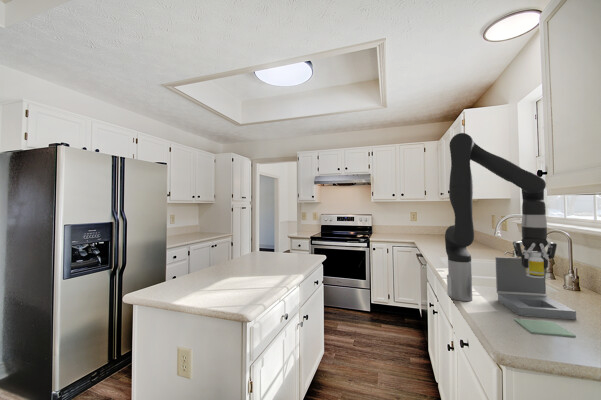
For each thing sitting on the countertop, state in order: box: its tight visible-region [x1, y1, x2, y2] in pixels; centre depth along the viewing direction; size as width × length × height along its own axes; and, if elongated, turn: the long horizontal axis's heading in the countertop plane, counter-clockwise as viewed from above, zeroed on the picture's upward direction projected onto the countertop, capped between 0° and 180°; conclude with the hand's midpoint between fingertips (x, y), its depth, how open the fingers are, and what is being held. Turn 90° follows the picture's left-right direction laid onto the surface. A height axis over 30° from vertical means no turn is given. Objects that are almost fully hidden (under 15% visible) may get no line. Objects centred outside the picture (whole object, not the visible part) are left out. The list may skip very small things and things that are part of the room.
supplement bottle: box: [526, 251, 544, 278], centre depth 103 cm, size 5×5×10 cm
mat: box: [513, 318, 576, 338], centre depth 89 cm, size 12×10×1 cm
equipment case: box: [495, 256, 577, 320], centre depth 105 cm, size 18×17×19 cm
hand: (534, 267), depth 103 cm, fingers closed on supplement bottle, 5 cm apart
